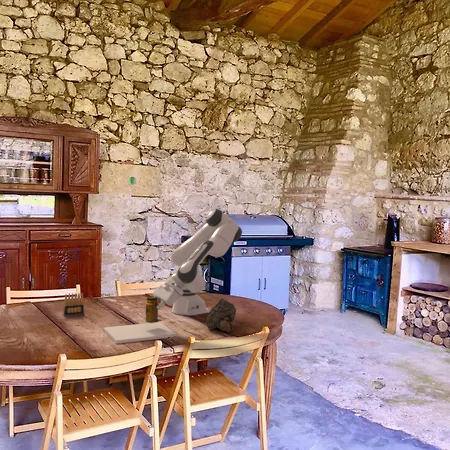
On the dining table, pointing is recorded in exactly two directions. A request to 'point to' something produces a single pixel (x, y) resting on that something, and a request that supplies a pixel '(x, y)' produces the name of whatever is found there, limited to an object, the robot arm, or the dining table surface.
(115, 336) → the tile board
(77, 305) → the ammunition clip
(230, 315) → the rock
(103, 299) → the dining table surface
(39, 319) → the dining table surface
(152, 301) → the condiment
